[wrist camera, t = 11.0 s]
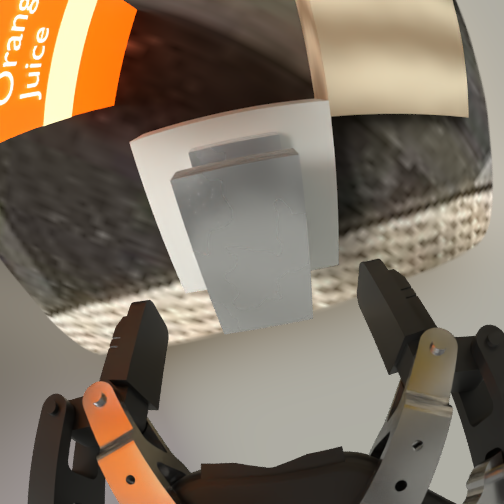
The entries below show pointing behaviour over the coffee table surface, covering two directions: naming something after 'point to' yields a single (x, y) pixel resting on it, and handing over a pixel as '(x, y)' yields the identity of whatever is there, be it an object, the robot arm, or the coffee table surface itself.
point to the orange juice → (59, 59)
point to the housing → (248, 230)
